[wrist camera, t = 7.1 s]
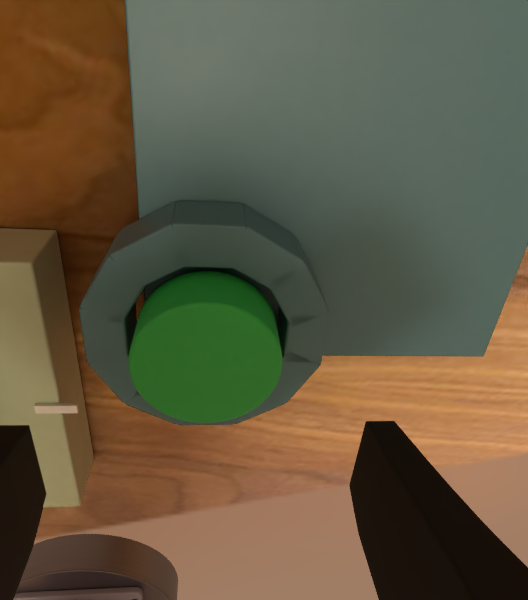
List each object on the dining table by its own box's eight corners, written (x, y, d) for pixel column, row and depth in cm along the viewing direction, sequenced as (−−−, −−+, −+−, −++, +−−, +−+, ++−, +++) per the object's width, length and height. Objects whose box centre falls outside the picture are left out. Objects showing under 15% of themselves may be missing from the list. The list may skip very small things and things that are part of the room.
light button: (269, 382, 15) (276, 423, 13) (141, 383, 14) (133, 425, 13) (281, 271, 13) (290, 304, 11) (133, 267, 12) (121, 301, 11)
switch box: (447, 352, 20) (496, 422, 16) (118, 350, 18) (95, 427, 15) (657, -257, 11) (865, -387, 7) (43, -363, 9) (-61, -591, 6)
